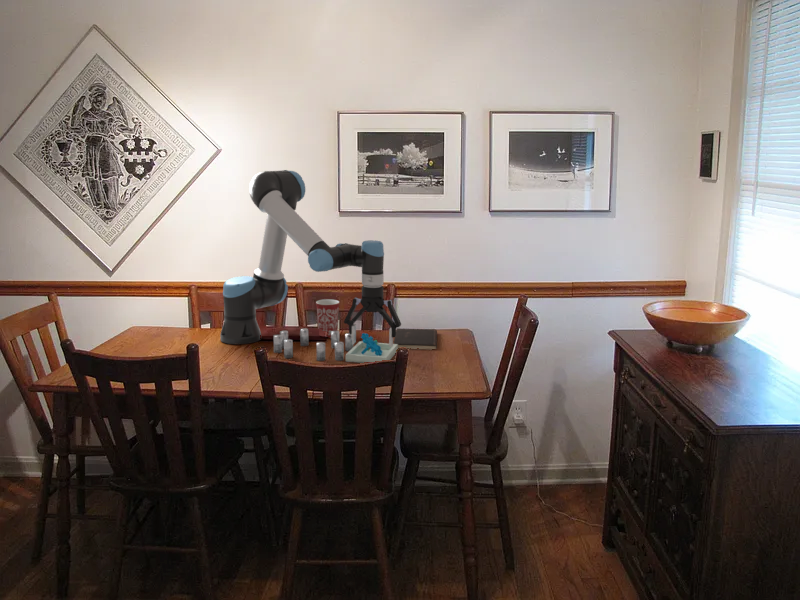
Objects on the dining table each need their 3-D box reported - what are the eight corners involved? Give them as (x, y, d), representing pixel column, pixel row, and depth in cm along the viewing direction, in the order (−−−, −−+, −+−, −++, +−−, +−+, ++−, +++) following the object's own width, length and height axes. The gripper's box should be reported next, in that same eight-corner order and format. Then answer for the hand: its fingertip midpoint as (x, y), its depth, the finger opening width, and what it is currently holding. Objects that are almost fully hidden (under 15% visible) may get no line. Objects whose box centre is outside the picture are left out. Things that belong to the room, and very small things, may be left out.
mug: (336, 339, 277) (335, 304, 274) (313, 337, 278) (312, 303, 275) (344, 331, 289) (344, 298, 286) (322, 329, 290) (322, 296, 287)
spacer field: (266, 356, 253) (266, 340, 252) (287, 342, 271) (286, 327, 270) (340, 362, 247) (340, 345, 246) (356, 347, 265) (356, 332, 264)
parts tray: (345, 361, 249) (345, 354, 248) (359, 347, 265) (359, 341, 265) (386, 364, 246) (386, 357, 245) (397, 350, 262) (397, 344, 262)
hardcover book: (393, 350, 265) (393, 344, 265) (396, 333, 288) (396, 328, 287) (436, 351, 264) (436, 345, 264) (436, 334, 287) (436, 329, 286)
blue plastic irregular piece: (378, 355, 248) (360, 333, 250) (366, 366, 250) (348, 344, 251) (388, 351, 259) (370, 329, 260) (376, 361, 260) (358, 340, 262)
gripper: (334, 285, 249) (335, 344, 254) (405, 289, 244) (404, 350, 248) (341, 281, 256) (341, 339, 261) (410, 285, 251) (409, 344, 255)
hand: (372, 344), depth 254 cm, fingers open, 13 cm apart
